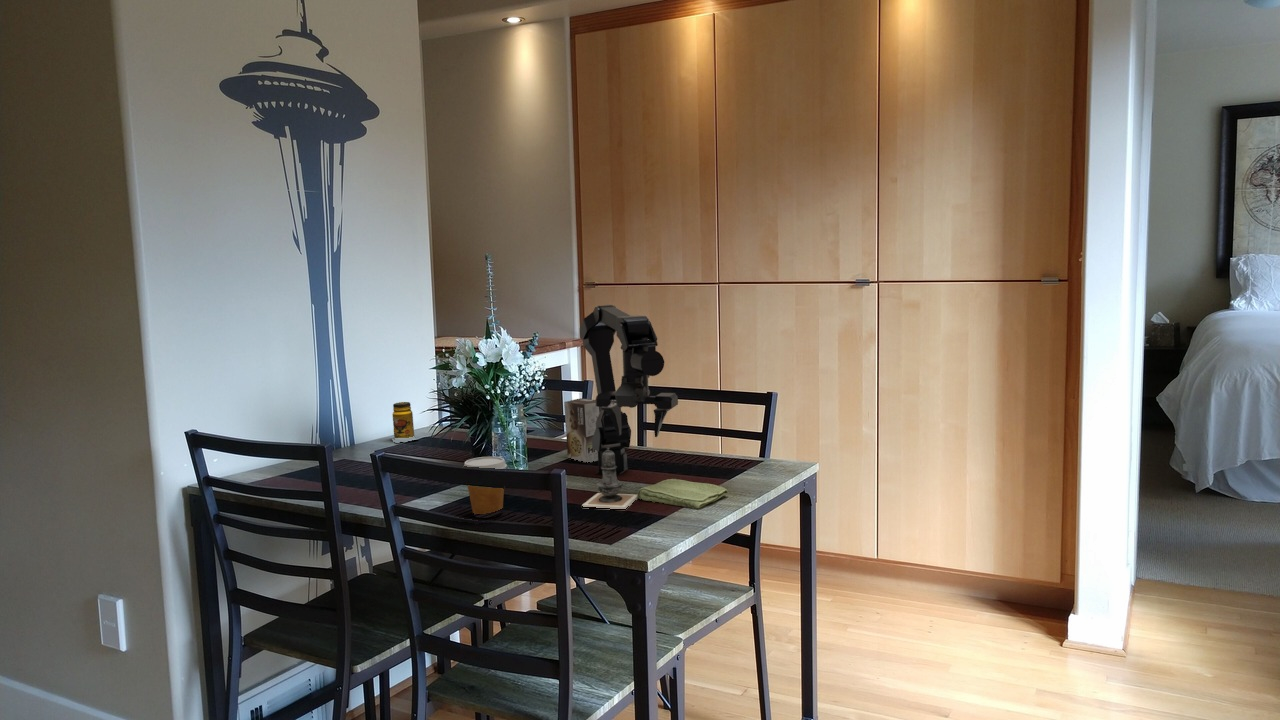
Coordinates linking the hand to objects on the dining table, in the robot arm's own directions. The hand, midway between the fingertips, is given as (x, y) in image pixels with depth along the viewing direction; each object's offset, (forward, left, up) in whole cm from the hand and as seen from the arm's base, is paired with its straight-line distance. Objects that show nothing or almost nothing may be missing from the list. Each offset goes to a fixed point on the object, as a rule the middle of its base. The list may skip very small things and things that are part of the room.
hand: (637, 435), depth 213 cm
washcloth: (+12, -6, -13) cm, 19 cm away
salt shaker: (-3, -13, -12) cm, 18 cm away
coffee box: (-24, +27, -13) cm, 38 cm away
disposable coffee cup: (-27, -26, -13) cm, 39 cm away
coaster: (-3, -13, -13) cm, 18 cm away
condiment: (-91, +44, -13) cm, 102 cm away
